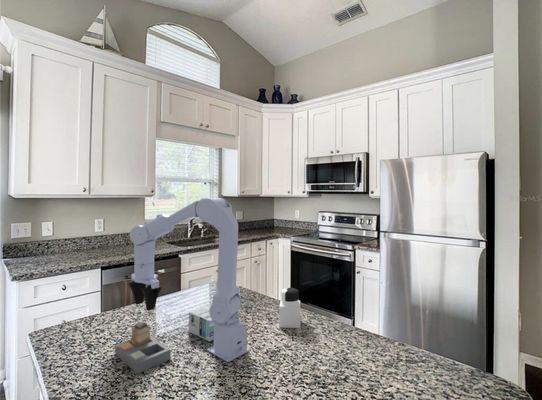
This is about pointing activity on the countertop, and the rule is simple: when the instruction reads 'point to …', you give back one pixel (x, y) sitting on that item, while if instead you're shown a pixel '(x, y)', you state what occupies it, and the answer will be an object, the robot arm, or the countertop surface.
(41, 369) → the countertop surface
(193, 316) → the light bulb box
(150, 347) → the port board
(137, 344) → the plug
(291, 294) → the medicine bottle
